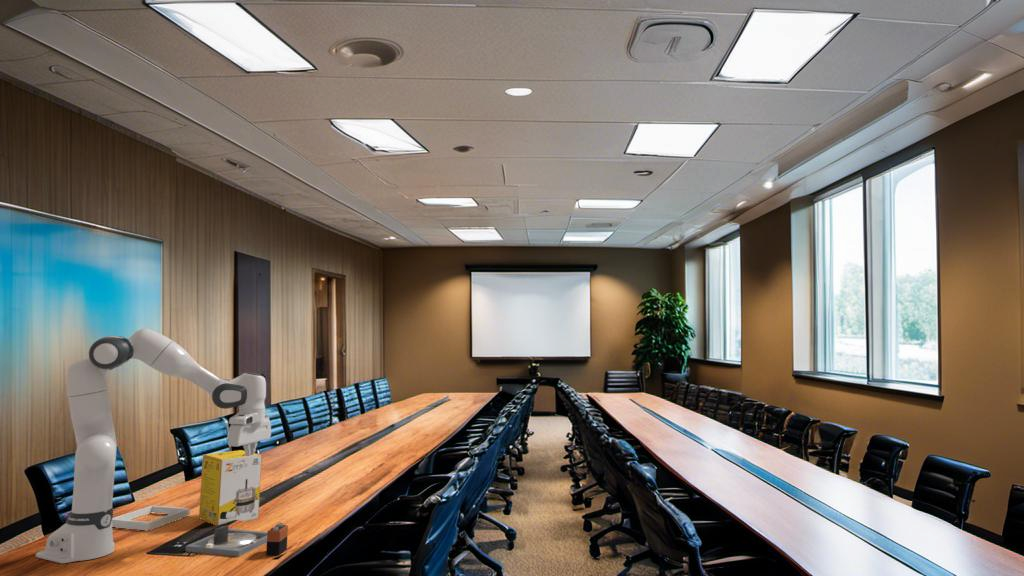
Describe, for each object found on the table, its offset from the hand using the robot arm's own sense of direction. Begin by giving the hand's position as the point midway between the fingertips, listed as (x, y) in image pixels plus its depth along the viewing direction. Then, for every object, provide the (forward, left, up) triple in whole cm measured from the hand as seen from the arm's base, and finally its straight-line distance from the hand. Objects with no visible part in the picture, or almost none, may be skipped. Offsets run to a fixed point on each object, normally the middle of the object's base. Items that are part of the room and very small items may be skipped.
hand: (249, 455), depth 221 cm
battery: (+22, -14, -29) cm, 39 cm away
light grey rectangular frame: (-48, +8, -29) cm, 57 cm away
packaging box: (-22, +20, -29) cm, 42 cm away
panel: (+3, -11, -29) cm, 31 cm away
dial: (+3, -11, -28) cm, 30 cm away
